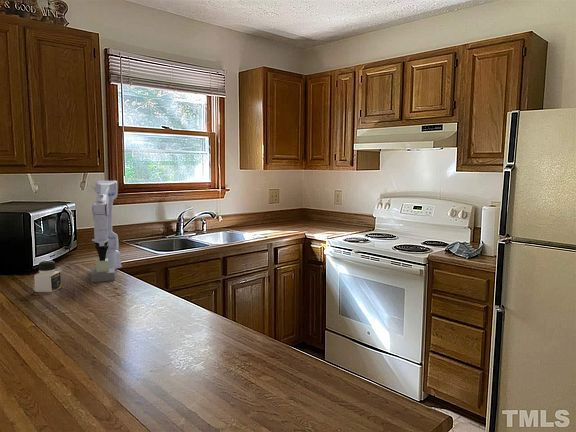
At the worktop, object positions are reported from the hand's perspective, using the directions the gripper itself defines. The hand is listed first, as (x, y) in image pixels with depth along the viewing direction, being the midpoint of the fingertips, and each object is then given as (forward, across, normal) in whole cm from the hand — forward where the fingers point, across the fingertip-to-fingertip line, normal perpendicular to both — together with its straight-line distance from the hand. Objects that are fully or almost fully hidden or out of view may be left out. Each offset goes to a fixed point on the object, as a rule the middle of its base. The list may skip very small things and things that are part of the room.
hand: (102, 259), depth 201 cm
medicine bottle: (+9, +11, -21) cm, 26 cm away
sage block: (+5, 0, 0) cm, 5 cm away
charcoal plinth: (+9, 0, 0) cm, 9 cm away
